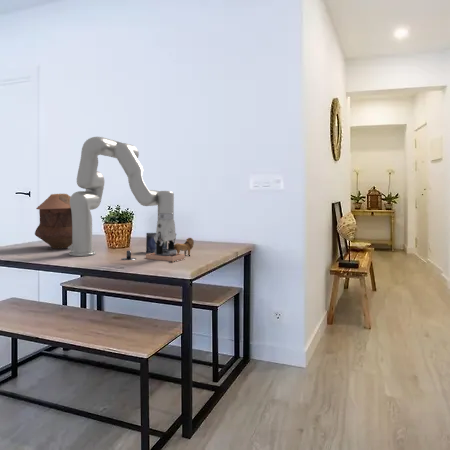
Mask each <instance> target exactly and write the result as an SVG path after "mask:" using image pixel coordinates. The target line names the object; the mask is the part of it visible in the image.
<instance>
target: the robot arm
mask: <svg viewBox="0 0 450 450" xmlns="http://www.w3.org/2000/svg"><path fill="white" fill-rule="evenodd" d="M139 154H140V153H139V150H138V148H137V147H136V146H135V145H134V144H129V143H127V142H126V143H125V142H122V141H121V142H120V141H117V140H115V139H114V140H113V139H111V138H106V137H103V136H93V137H89V138H88V139H86V141H84V143H83V144H82V148H81V153H80V158H79V159H80V161H79V166H78V170H77V174H76V185H77V186H78V187H79V188H80V189H83V190H79V191H76V192H74V193H73V194H72V195H70V196H71V197H70V207H71V213H72V245H70V247H68V248H67V249H68V250H70V251H69V252H68V255H69V256H70V257H71V256H73V257H88V256H89V257H90V256H94V255H96V253H97V252H96V251H95V250H93V217H92V212H91V210H96V209H98V208H99V206H100V205H101V203H102V197H103V194H104V189H105V188H104V187H105V177H104V175H103V174H102V172H100V171H98V167H99V157H98V156H104V157H110V158H113V159H116V160H117V161H118V163H119V165H120V166H121V168H122V169H123V171H124V173H125V175H126V177H127V179H128V185H129V189H130V191H131V193H132V194H133V196H134V198H135V200H136V201H137V203H138V204H140V205H141V206H143V207H153V206H154V207H155V206H157V221H156V222H157V223H156V232H155V233H156V235H155V236H154V240H155V243H156V254H163V246H162V244H163V241H167V249H174V245H175V244H176V242H175V241H176V238H177V233H176V222H175V217H174V215H175V214H174V213H175V212H174V211H175V204H174V203H175V202H174V201H175V200H174V199H175V197H174V195H175V194H174V192H173V191H172V190H155V189H154V190H153V189H149V188H148V187H147V184H146V183H145V181H144V178H143V173H144V167H143V165H142V164H141V161H139V159H138V158H139V156H140V155H139ZM159 241H161V242H159Z"/></svg>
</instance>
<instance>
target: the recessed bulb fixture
mask: <svg viewBox="0 0 450 450" xmlns="http://www.w3.org/2000/svg"><path fill="white" fill-rule="evenodd" d="M176 253H177V250H174V249H168V248H167V249H163V254H156V250H155V255H161V256H170V257H173V256H176Z"/></svg>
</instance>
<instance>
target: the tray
mask: <svg viewBox="0 0 450 450" xmlns="http://www.w3.org/2000/svg"><path fill="white" fill-rule="evenodd" d="M184 258H185V259H186V256H185V254H184V253H179V254H177V252H176V256H173V257H170V256H161V255H155V253H146V254H145V259H149V260H150V259H151V260H157V261H166V262H167V261H168V262H170V261H171V262H170V263H175V262H174V261H176V262H178V261H177V260H180V261H182V260H181V259H184ZM185 259H184V260H185Z"/></svg>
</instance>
